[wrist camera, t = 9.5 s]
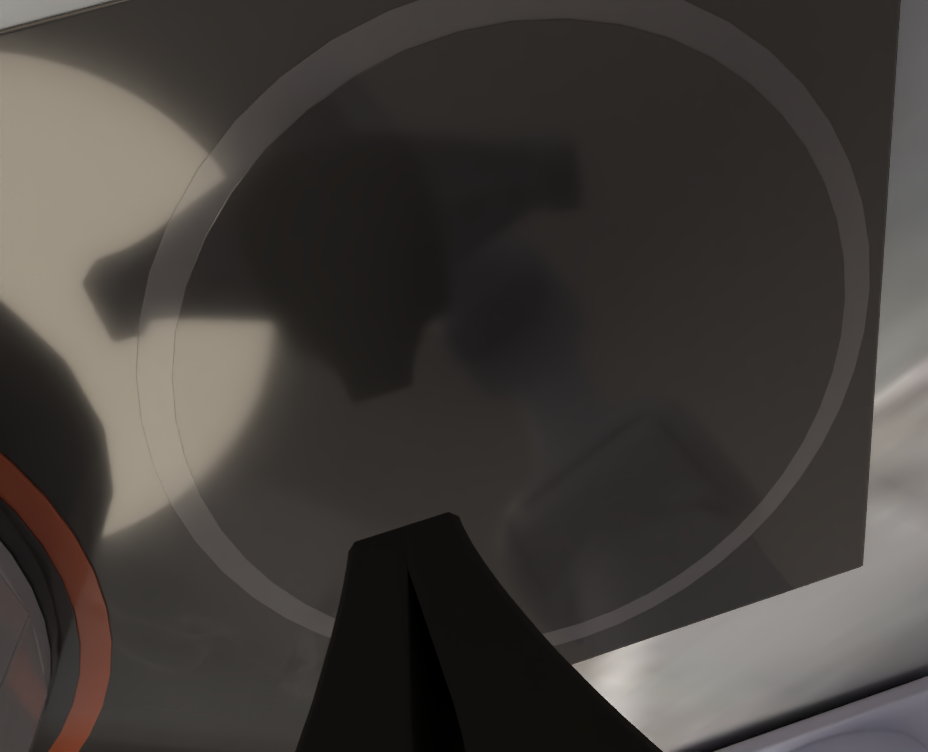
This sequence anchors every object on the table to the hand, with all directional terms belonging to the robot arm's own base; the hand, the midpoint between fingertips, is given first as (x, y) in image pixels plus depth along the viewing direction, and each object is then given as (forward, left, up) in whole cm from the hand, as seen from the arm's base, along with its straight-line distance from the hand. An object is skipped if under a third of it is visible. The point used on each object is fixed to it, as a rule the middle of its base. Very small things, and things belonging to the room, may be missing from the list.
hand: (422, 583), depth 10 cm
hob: (0, +5, -4) cm, 6 cm away
